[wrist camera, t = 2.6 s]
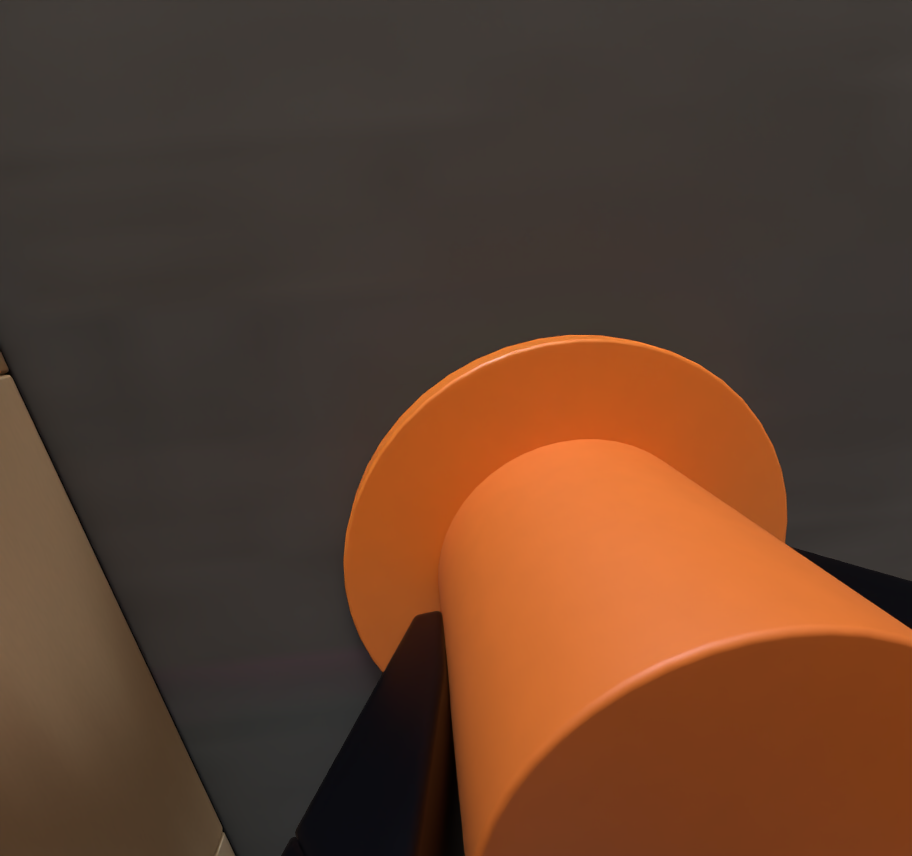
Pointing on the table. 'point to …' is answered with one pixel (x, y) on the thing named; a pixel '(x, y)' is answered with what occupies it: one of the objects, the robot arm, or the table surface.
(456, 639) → the hat
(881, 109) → the table surface
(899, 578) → the robot arm
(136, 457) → the table surface
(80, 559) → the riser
